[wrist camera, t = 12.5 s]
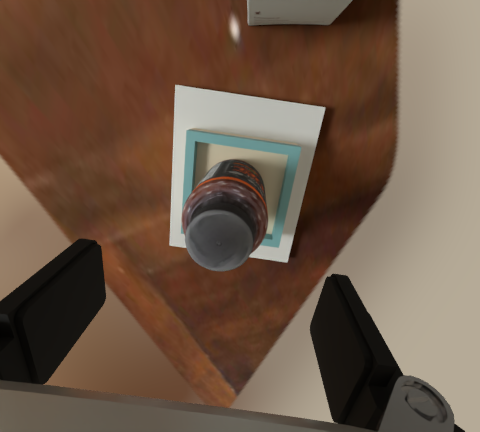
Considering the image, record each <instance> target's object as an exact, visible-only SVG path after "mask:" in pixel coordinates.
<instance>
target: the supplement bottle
mask: <svg viewBox="0 0 480 432" xmlns="http://www.w3.org/2000/svg"><path fill="white" fill-rule="evenodd" d="M181 223H182V228H183V232H184V235H185V243H186V248H187V250H188V252H189V254H190V256H191V257H192V258H193V259H194V261H195V262H197V263H198V264H199V265H201V266H203V267H205V268H207V269H210V270H213V271H228V270H232V269H235V268H237V267H239V266H240V265H242V264H243V263H244V262H245V261H246V260H247V259H248V257H249V256H250V254H251V253H253V252H254V251H255V250H256V249H257V248H258V247H259V246H260V244H261V243H262V241H263V239H264V237H265V235H266V232H267V227H268V211H267V203H266V194H265V187H264V182H263V180H262V177H261V175H260V174H259V172H258V171H257V170H256V169H255V168H254V167H253V166H252V165H250V164H249V163H247V162H245V161H242V160H237V159H229V160H224V161H222V162H219V163H217V164H216V165H214V166H213V167H212V168H211V169H210V170H209V171H208V172H207V174H206V175H205V176H204V177H203V179H202V180H201V181H200V183H199V184H198V185H197V186H196V188H195V189H194V190H193V191H192V193H191V194H190V195H189V197H188V198H187V200H186V202H185V205H184V207H183V211H182V218H181Z"/></svg>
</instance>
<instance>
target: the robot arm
mask: <svg viewBox="0 0 480 432" xmlns="http://www.w3.org/2000/svg"><path fill="white" fill-rule="evenodd" d="M105 299H106V292H105V281H104V271H103V261H102V251H101V246H100V245H98V244H97V242H96V241H95V240H88V239H78V240H77V241H76V242H74V243H73V244H72V245H71V246H69V247H68V248H67V249H66V250H64V251H63V252H62V253H60V254H59V255H58V256H57V257H55V258H54V259H53V260H52V261H50V262H49V263H48V264H47V265H45V266H44V267H43V268H42V269H40V270H39V271H38V272H37V273H35V274H34V275H33V276H31V277H30V278H29V279H28V280H26V281H25V282H24V283H23V284H21V285H20V286H19V287H18V288H16V289H15V290H14V291H13V292H11V293H10V294H9V295H8V296H6V297H5V298H4V299H2V300H1V301H0V432H465V431H464V430H462V429H461V428H460V427H458V426H457V425H456V424H454V414H453V412H452V410H451V407H450V405H449V404H448V403H447V401H446V400H445V399H444V397H443V396H442V395H441V394H440V393H439V392H438V391H437V390H436V389H435V388H433V387H432V386H431V385H429V384H428V383H427V382H424V381H423V380H421V379H419V378H416V377H413V376H405V375H403V373H402V372H401V370H400V368H399V366H398V364H397V363H396V361H395V359H394V357H393V356H392V354H391V352H390V350H389V348H388V346H387V345H386V343H385V341H384V339H383V337H382V335H381V334H380V332H379V330H378V328H377V327H376V325H375V323H374V321H373V320H372V317H371V316H370V314H369V313H368V312H367V310H366V308H365V307H364V305H363V303H362V301H361V299H360V297H359V296H358V294H357V292H356V290H355V288H354V286H353V285H352V283H351V281H350V279H349V278H348V276H346V275H339V274H332V275H331V276H330V277H327V278H326V280H325V283H324V286H323V289H322V292H321V295H320V298H319V301H318V304H317V306H316V309H315V312H314V315H313V318H312V321H311V325H310V333H311V337H312V341H313V345H314V349H315V353H316V357H317V361H318V365H319V369H320V373H321V377H322V381H323V385H324V389H325V392H326V397H327V400H328V404H329V408H330V412H331V416H332V419H333V421H334V422H335V423H330V422H324V421H317V420H310V419H304V418H298V417H290V416H282V415H275V414H268V413H261V412H253V411H246V410H239V409H231V408H224V407H216V406H209V405H201V404H193V403H186V402H178V401H170V400H163V399H154V398H147V397H139V396H131V395H123V394H115V393H107V392H99V391H91V390H82V389H74V388H66V387H59V386H51V385H43V384H45V383H46V382H47V381H48V380H49V378H50V377H51V376H52V374H53V373H54V372H55V370H56V369H57V367H58V366H59V365H60V363H61V362H62V361H63V359H64V358H65V357H66V355H67V354H68V352H69V351H70V350H71V348H72V347H73V346H74V344H75V343H76V341H77V340H78V339H79V337H80V336H81V334H82V333H83V332H84V331H85V329H86V328H87V326H88V325H89V324H90V322H91V321H92V319H93V318H94V317H95V316H96V314H97V313H98V311H99V310H100V309H101V307H102V306H103V304H104V302H105ZM337 423H338V424H337Z"/></svg>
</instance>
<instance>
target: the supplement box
mask: <svg viewBox="0 0 480 432" xmlns="http://www.w3.org/2000/svg"><path fill="white" fill-rule="evenodd" d="M352 1H353V0H247V7H248V25H250V26H251V25H267V24H317V25H330V24H331V23H332V22H333V21H334V20H335V19H336V18H337V17H338V16H339V15H340V13H341V12H342V11H343V10H344V9H345V8H346V7H347V6H348V5H349V4H350V3H351V2H352Z"/></svg>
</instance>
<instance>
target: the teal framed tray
mask: <svg viewBox="0 0 480 432" xmlns="http://www.w3.org/2000/svg"><path fill="white" fill-rule="evenodd" d="M325 108H326V107H319V106H313V105H306V104H300V103H293V102H286V101H280V100H273V99H266V98H260V97H253V96H246V95H240V94H233V93H226V92H220V91H213V90H207V89H200V88H193V87H187V86H180V85H175V109H174V136H173V164H172V192H171V220H170V246H177V247H184V248H186V243H185V235H184V232H183V228H182V223H181V218H182V211H183V207H184V205H185V202H186V200H187V198H188V197H189V195H190V194H191V193H192V191H193V190H194V189H195V188H196V186H197V185H198V184H199V183H200V181H201V180H202V179H203V177H204V176H205V175H206V174H207V172H208V171H209V170H210V169H211V168H212V167H213V166H214V165H216V164H217V163H219V162H222V161H224V160H229V159H237V160H242V161H245V162H247V163H249V164H250V165H252V166H253V167H254V168H255V169H256V170H257V171H258V172H259V174H260V175H261V177H262V180H263V182H264V187H265V194H266V203H267V211H268V227H267V232H266V235H265V237H264V239H263V241H262V243H261V244H260V246H259V247H258V248H257V249H256V250H255V251H254V252H253V253H251V254H250V256H249V257H253V258H260V259H267V260H274V261H280V262H288V258H289V254H290V250H291V246H292V242H293V238H294V233H295V229H296V225H297V221H298V217H299V213H300V209H301V205H302V201H303V197H304V193H305V189H306V185H307V181H308V177H309V173H310V169H311V165H312V161H313V157H314V153H315V148H316V144H317V140H318V136H319V132H320V128H321V124H322V120H323V116H324V112H325Z"/></svg>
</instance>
